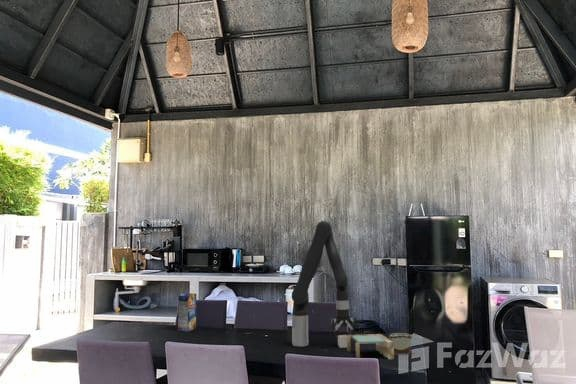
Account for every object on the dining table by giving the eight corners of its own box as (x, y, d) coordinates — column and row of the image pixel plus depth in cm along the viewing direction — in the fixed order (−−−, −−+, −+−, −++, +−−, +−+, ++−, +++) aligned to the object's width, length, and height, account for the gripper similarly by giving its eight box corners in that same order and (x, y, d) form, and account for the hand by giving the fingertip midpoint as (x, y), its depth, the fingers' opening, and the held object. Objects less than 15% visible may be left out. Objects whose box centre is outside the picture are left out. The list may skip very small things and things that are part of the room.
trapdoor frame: (356, 360, 218) (356, 343, 219) (346, 350, 238) (346, 334, 239) (394, 359, 220) (393, 342, 221) (381, 349, 240) (380, 333, 241)
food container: (409, 351, 236) (408, 332, 237) (412, 354, 230) (411, 334, 231) (386, 351, 236) (386, 332, 237) (390, 354, 230) (389, 335, 231)
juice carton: (186, 327, 304) (187, 293, 307) (195, 328, 303) (196, 293, 305) (177, 331, 293) (178, 295, 296) (187, 331, 291) (188, 295, 294)
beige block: (340, 347, 245) (339, 337, 245) (338, 345, 250) (337, 335, 250) (348, 347, 245) (348, 336, 246) (346, 345, 250) (346, 334, 251)
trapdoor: (359, 343, 222) (359, 341, 222) (352, 337, 236) (352, 336, 236) (385, 342, 224) (385, 340, 224) (376, 337, 237) (376, 335, 238)
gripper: (332, 309, 245) (333, 338, 243) (356, 308, 247) (357, 337, 245) (329, 307, 253) (330, 336, 251) (352, 306, 254) (354, 334, 252)
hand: (343, 336), depth 248 cm, fingers open, 8 cm apart
